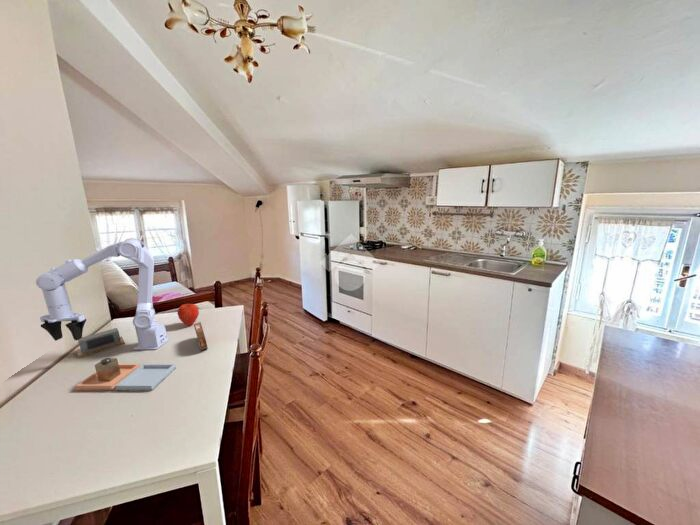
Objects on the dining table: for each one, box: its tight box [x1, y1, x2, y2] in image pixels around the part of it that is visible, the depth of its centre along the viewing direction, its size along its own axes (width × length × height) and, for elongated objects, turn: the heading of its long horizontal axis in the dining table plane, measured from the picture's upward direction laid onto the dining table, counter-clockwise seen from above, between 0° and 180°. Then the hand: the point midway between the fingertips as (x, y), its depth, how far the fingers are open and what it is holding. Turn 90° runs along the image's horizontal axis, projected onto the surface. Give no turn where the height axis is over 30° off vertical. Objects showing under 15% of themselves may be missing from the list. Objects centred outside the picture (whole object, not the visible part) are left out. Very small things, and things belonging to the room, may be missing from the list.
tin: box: [193, 321, 208, 351], centre depth 112 cm, size 15×3×8 cm, turn 34°
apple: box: [177, 303, 200, 327], centre depth 130 cm, size 9×8×11 cm
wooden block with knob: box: [94, 357, 121, 381], centre depth 92 cm, size 4×4×7 cm
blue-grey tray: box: [115, 363, 177, 392], centre depth 92 cm, size 12×12×2 cm
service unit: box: [76, 327, 126, 359], centre depth 112 cm, size 7×14×6 cm, turn 137°
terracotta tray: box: [75, 363, 141, 392], centre depth 92 cm, size 12×12×2 cm
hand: (68, 339), depth 101 cm, fingers open, 7 cm apart
